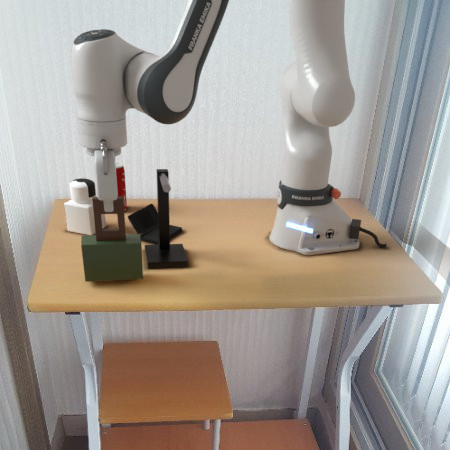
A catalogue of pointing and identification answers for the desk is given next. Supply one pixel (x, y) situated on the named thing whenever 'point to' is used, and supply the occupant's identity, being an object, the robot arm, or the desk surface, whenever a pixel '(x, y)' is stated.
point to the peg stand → (164, 232)
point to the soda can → (121, 182)
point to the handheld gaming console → (149, 224)
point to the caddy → (111, 248)
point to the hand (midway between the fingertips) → (108, 208)
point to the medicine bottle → (81, 207)
